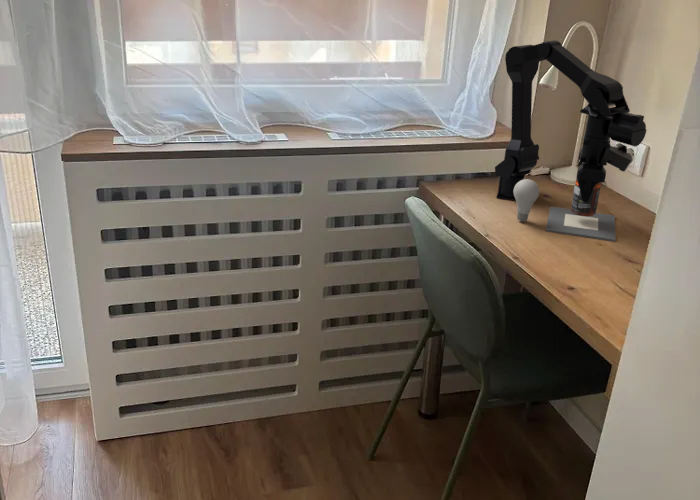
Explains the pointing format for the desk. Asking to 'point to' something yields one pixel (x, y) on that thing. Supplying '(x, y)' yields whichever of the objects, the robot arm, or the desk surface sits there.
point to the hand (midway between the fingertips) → (585, 197)
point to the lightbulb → (525, 197)
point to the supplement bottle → (585, 207)
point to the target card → (581, 224)
